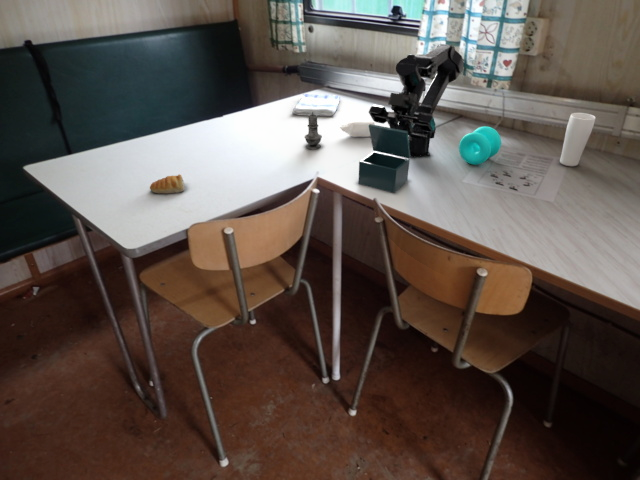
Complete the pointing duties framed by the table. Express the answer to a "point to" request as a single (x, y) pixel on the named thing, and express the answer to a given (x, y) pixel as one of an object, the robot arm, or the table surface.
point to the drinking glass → (576, 137)
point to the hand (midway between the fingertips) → (391, 145)
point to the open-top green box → (383, 171)
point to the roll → (357, 128)
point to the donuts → (480, 145)
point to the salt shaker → (313, 134)
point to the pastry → (168, 185)
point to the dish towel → (317, 105)
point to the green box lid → (390, 140)
